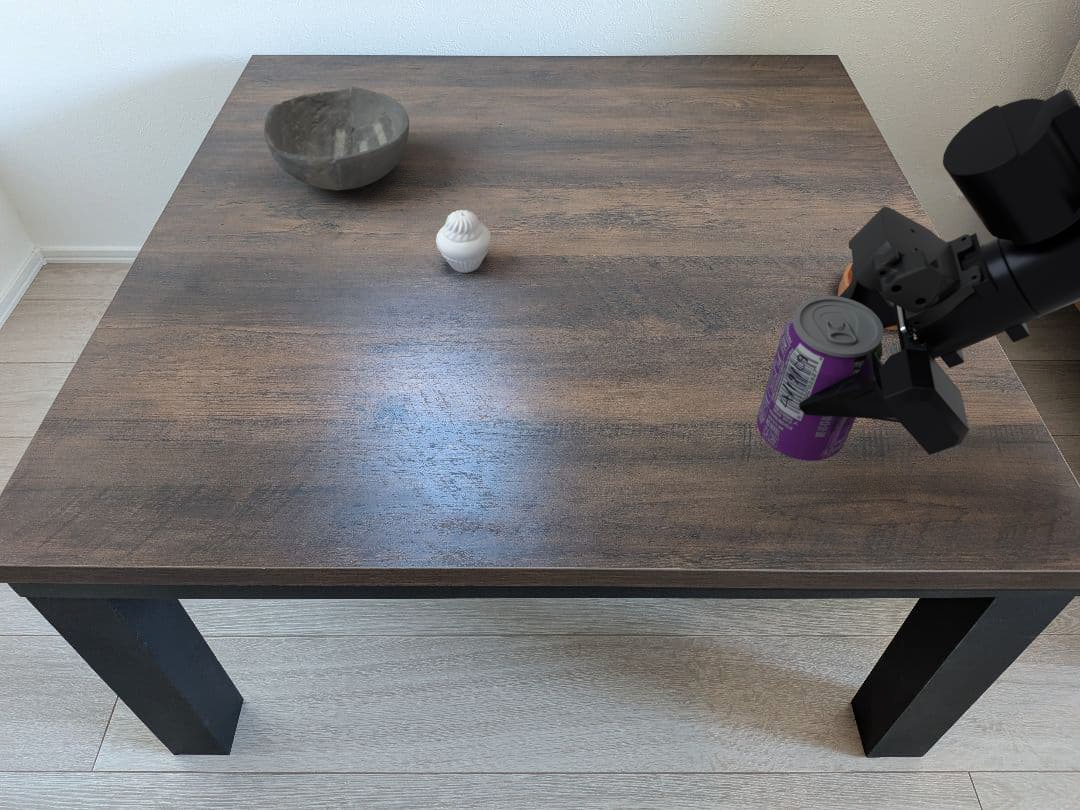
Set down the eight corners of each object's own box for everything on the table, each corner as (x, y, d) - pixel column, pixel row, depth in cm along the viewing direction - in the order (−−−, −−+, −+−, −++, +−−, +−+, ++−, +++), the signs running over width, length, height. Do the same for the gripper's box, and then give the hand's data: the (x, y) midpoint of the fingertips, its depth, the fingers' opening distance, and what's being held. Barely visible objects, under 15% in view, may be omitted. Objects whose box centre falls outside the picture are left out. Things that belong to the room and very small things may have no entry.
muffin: (435, 252, 91) (428, 200, 86) (486, 244, 92) (483, 192, 87) (444, 285, 87) (437, 233, 82) (497, 276, 88) (495, 224, 83)
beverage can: (852, 468, 62) (902, 360, 53) (761, 465, 62) (796, 357, 53) (834, 401, 67) (877, 292, 58) (749, 399, 67) (779, 290, 58)
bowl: (419, 208, 97) (411, 149, 91) (273, 221, 95) (256, 162, 89) (412, 134, 109) (404, 78, 103) (282, 145, 107) (267, 88, 101)
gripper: (937, 113, 53) (740, 232, 62) (988, 289, 40) (733, 404, 50) (1011, 224, 57) (817, 319, 67) (1076, 411, 45) (828, 494, 55)
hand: (800, 374), depth 60 cm, fingers closed on beverage can, 7 cm apart
